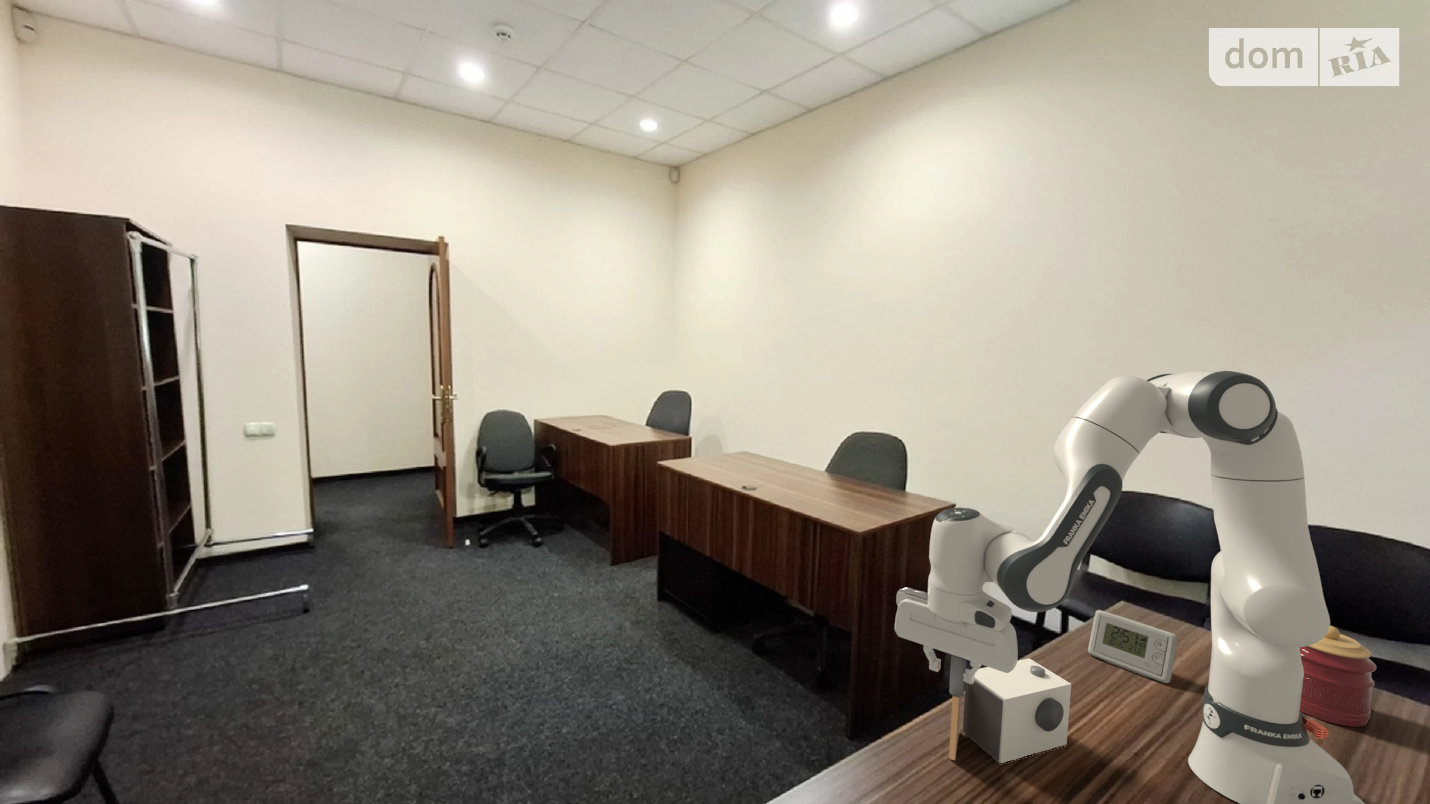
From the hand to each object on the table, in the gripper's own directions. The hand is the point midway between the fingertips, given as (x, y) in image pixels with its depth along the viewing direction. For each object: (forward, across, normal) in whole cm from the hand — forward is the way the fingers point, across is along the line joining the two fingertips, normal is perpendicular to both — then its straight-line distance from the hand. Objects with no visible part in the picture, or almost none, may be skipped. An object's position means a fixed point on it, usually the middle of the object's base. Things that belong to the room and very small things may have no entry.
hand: (951, 675), depth 100 cm
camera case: (+15, +8, +12) cm, 21 cm away
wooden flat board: (+14, 0, +3) cm, 15 cm away
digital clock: (+16, +22, +58) cm, 64 cm away
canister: (+16, +54, +66) cm, 87 cm away
